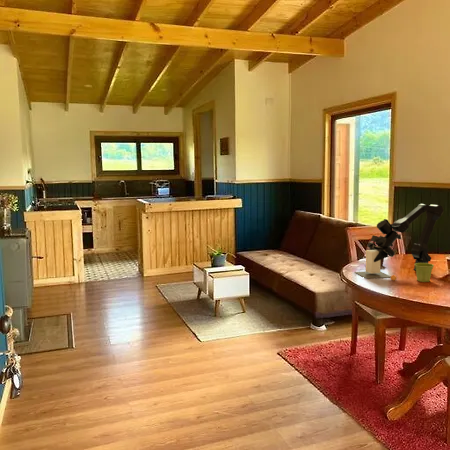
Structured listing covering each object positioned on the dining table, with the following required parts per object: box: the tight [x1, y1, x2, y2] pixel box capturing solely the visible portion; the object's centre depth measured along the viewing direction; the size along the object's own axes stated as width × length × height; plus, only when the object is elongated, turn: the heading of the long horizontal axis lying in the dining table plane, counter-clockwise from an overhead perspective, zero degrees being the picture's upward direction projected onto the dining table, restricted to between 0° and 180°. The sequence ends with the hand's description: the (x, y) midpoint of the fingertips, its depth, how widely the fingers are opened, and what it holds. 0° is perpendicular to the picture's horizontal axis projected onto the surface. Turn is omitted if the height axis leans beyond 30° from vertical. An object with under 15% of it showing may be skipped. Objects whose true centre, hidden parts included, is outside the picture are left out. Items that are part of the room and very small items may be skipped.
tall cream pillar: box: [365, 249, 381, 274], centre depth 250 cm, size 6×6×12 cm
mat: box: [354, 270, 392, 280], centre depth 251 cm, size 15×15×1 cm
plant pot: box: [413, 262, 435, 283], centre depth 236 cm, size 9×9×9 cm
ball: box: [390, 274, 398, 282], centre depth 237 cm, size 3×3×3 cm
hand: (370, 260), depth 249 cm, fingers closed on tall cream pillar, 5 cm apart
